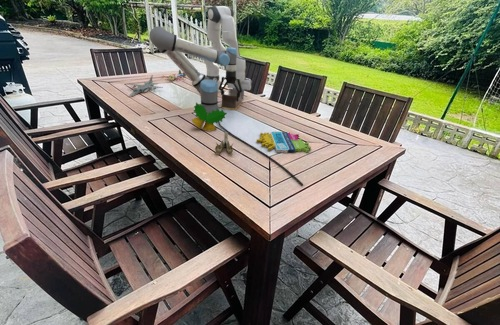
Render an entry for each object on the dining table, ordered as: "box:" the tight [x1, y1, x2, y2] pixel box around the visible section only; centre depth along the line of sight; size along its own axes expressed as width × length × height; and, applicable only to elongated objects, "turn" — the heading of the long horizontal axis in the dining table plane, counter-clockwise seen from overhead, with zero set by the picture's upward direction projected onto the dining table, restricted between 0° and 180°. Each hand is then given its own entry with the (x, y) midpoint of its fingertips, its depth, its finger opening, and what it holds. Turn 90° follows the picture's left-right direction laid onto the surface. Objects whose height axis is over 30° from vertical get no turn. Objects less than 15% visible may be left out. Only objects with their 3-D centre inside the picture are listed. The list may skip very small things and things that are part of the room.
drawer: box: [232, 88, 245, 101], centre depth 217 cm, size 23×10×9 cm, turn 167°
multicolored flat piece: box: [256, 131, 312, 154], centre depth 152 cm, size 26×2×30 cm
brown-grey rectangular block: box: [221, 88, 243, 111], centre depth 207 cm, size 19×11×11 cm, turn 167°
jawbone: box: [214, 131, 234, 156], centre depth 136 cm, size 9×15×10 cm
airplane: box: [127, 74, 164, 98], centre depth 227 cm, size 38×31×10 cm
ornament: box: [191, 102, 228, 132], centre depth 162 cm, size 21×8×15 cm, turn 105°
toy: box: [161, 69, 187, 82], centre depth 279 cm, size 28×7×30 cm
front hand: (230, 100), depth 202 cm, fingers closed on brown-grey rectangular block, 11 cm apart
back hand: (239, 94), depth 226 cm, fingers closed, pressing on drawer
